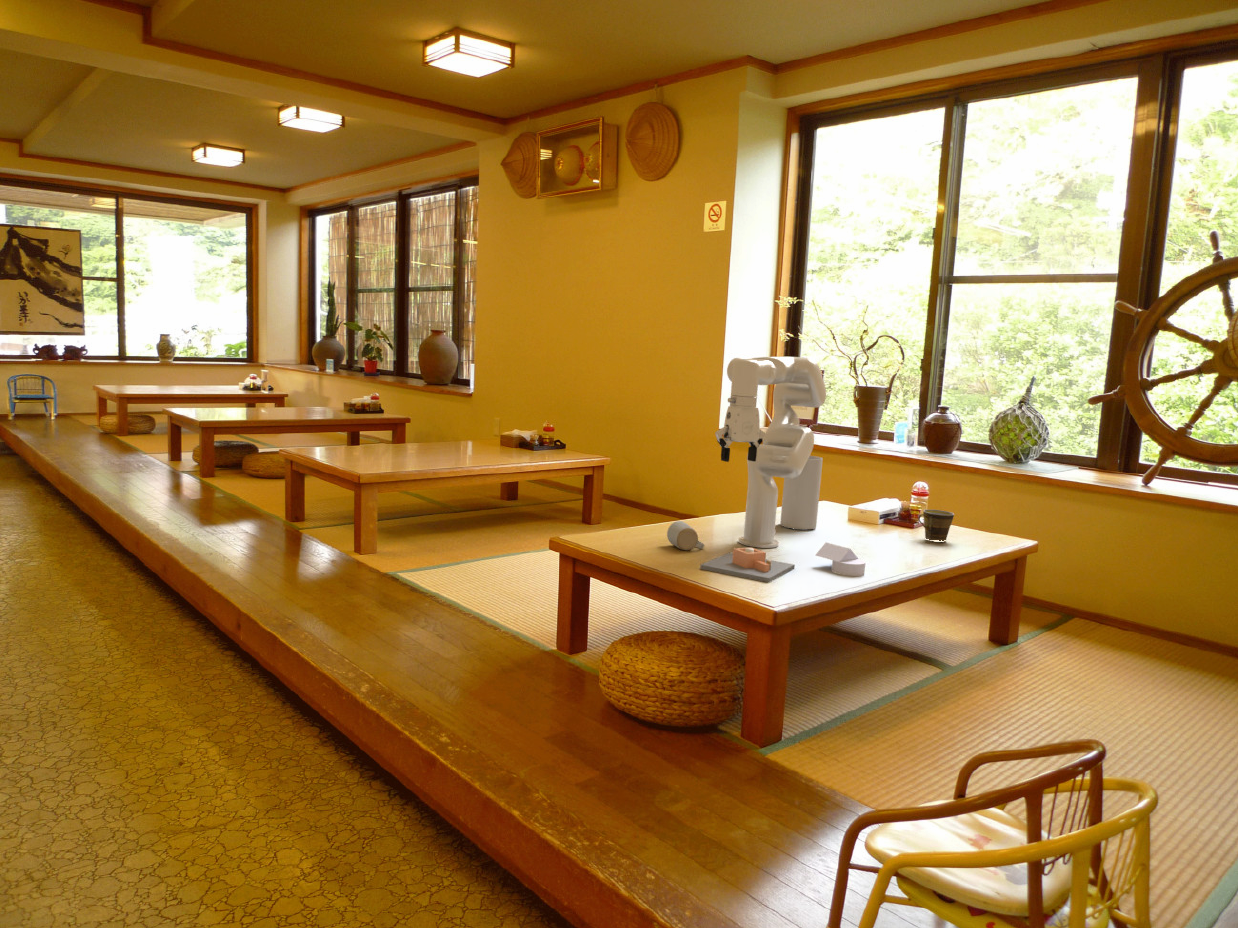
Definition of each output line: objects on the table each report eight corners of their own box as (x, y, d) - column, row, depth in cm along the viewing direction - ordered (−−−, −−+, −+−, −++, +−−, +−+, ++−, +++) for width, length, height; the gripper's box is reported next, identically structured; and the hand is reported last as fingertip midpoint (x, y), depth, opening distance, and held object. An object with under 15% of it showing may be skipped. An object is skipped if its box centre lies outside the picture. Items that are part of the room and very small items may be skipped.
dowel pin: (766, 568, 241) (767, 559, 241) (771, 569, 240) (772, 560, 240) (764, 569, 240) (765, 560, 240) (769, 570, 239) (770, 561, 239)
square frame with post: (732, 562, 246) (733, 548, 245) (750, 561, 249) (751, 547, 248) (757, 572, 236) (758, 558, 235) (775, 570, 239) (777, 556, 239)
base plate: (729, 556, 258) (730, 537, 257) (794, 568, 248) (796, 549, 247) (700, 568, 241) (701, 548, 240) (768, 582, 231) (770, 561, 230)
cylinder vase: (808, 532, 302) (815, 460, 299) (774, 526, 309) (780, 456, 305) (821, 527, 312) (827, 458, 309) (788, 521, 319) (794, 453, 316)
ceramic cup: (938, 537, 308) (941, 509, 307) (957, 544, 299) (960, 515, 297) (906, 537, 304) (909, 509, 302) (925, 544, 294) (928, 515, 293)
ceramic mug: (676, 551, 260) (678, 526, 259) (665, 545, 268) (667, 520, 267) (708, 551, 264) (710, 526, 263) (697, 545, 271) (699, 520, 270)
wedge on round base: (813, 566, 253) (851, 577, 243) (816, 543, 252) (853, 553, 242) (833, 563, 258) (870, 573, 248) (835, 541, 257) (873, 550, 247)
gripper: (726, 402, 246) (721, 463, 248) (775, 404, 254) (769, 462, 256) (711, 400, 252) (706, 459, 254) (758, 402, 261) (753, 459, 263)
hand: (738, 461), depth 255 cm, fingers open, 9 cm apart
